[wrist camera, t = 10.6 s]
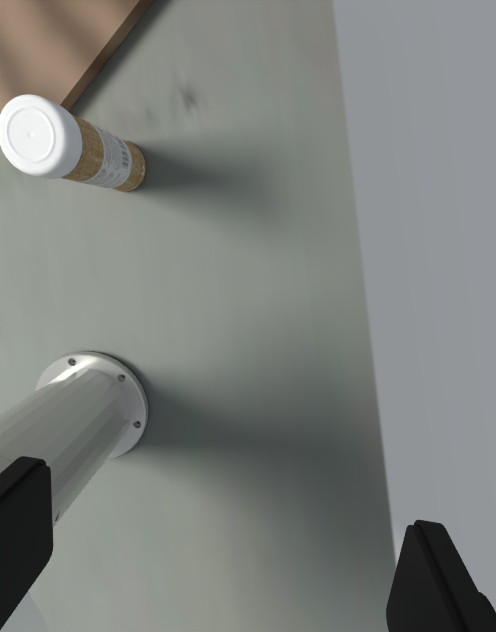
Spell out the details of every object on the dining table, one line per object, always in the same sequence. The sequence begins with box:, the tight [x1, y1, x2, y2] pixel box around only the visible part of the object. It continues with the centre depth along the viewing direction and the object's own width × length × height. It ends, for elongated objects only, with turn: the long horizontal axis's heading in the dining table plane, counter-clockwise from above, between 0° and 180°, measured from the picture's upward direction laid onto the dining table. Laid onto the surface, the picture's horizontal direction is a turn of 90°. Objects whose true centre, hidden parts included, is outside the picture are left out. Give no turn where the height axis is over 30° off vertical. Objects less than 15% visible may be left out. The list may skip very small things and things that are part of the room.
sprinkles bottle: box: [0, 94, 146, 192], centre depth 29 cm, size 5×5×14 cm
